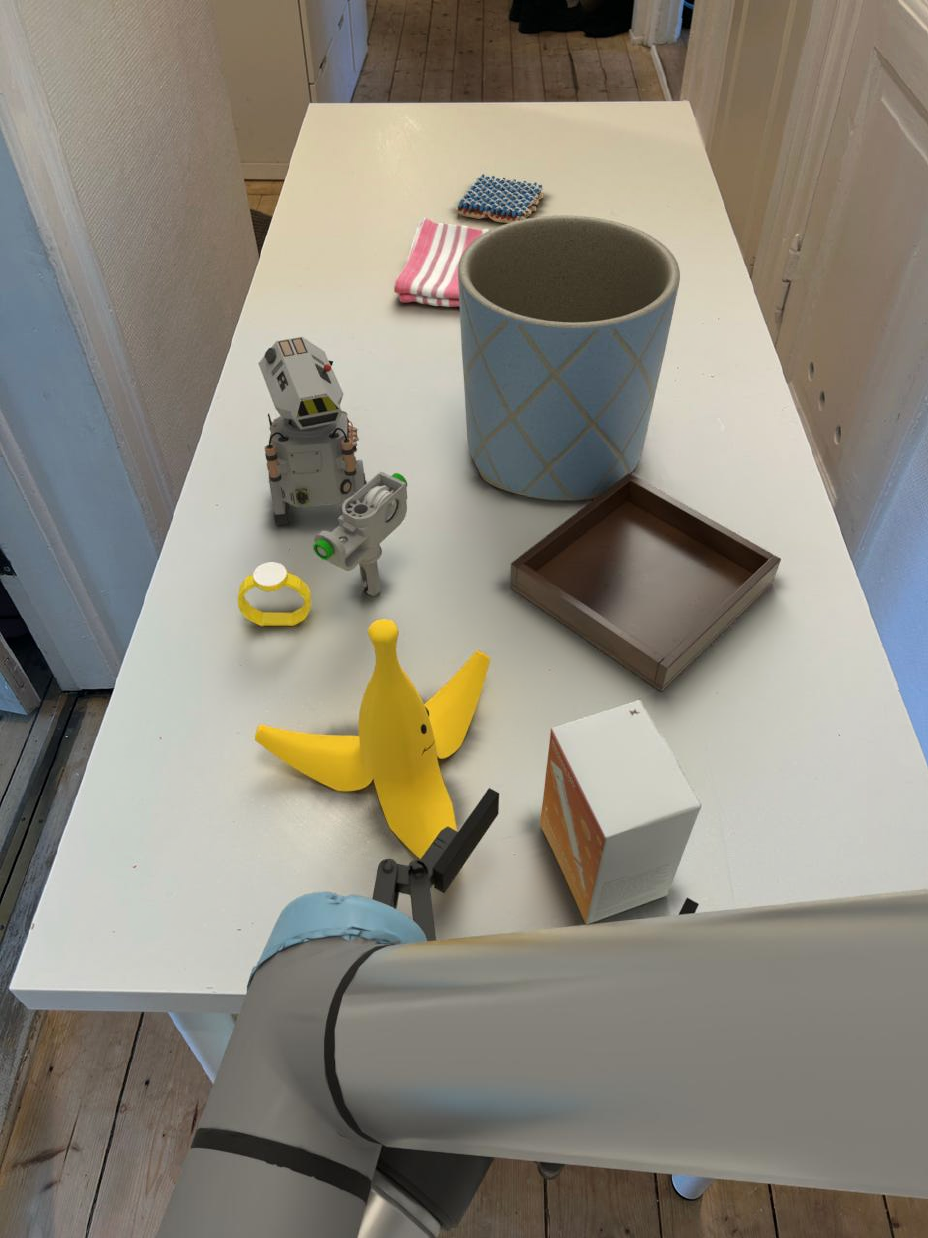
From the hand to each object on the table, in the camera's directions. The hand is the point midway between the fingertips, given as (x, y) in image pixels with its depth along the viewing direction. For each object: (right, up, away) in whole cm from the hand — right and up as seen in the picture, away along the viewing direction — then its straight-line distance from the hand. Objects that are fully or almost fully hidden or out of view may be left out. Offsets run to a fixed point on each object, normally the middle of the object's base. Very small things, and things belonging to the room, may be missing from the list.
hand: (587, 852), depth 56 cm
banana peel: (-15, +3, +13) cm, 20 cm away
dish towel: (-4, +58, +59) cm, 83 cm away
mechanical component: (-16, +17, +24) cm, 34 cm away
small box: (+2, -3, +7) cm, 8 cm away
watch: (-24, +14, +22) cm, 35 cm away
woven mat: (-2, +73, +72) cm, 103 cm away
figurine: (-22, +27, +33) cm, 47 cm away
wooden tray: (+8, +18, +24) cm, 31 cm away
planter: (+2, +32, +37) cm, 49 cm away
